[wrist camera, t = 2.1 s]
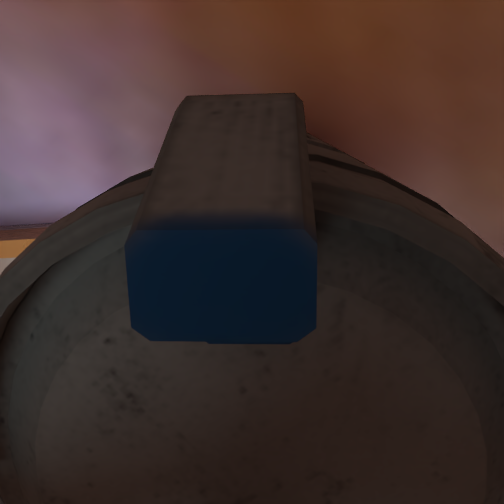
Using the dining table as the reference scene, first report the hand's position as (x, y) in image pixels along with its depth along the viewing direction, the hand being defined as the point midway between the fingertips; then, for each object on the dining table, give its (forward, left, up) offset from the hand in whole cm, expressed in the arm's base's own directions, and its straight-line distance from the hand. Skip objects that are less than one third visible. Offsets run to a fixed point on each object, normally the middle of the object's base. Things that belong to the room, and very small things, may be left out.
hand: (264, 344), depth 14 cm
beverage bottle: (0, 0, -15) cm, 15 cm away
